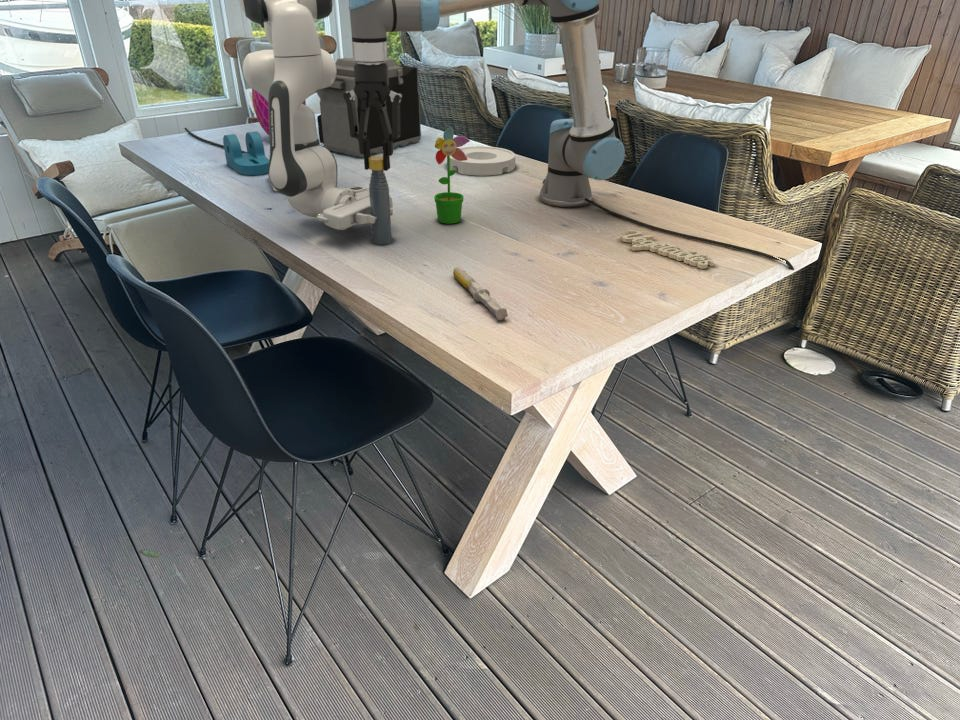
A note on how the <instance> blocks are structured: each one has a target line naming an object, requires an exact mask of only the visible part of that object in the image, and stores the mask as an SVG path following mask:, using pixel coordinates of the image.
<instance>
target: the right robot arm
mask: <svg viewBox="0 0 960 720" xmlns="http://www.w3.org/2000/svg"><path fill="white" fill-rule="evenodd" d="M600 1H601V0H348V10H349V19H350V32H351V47H352V58H353V60H354V61H355V62H356V63H355V65H354V76H355V86H354V90H352V91H347V92H345V93H344V94H343V97H344V99H345V101H346V104H347V111H348V120H349V128H350V136H351V137H353V138H357V139H358V140H359V149H360V154H364V157H363V164H364V166H363V167H364V170H366V171H367V170H370V169H369V163H368V158H369V157H371V153H370V140H369V139H366V137H367V136H366V134H367V125H368V117H369V110H370V107H371V106H373V107H376V108H377V111H378V113H379V117H380V121H381V125H382V129H383V133H384V137H385V141H383V142H382V147H383V150H382V156H383V164H384V172H387V171H389V170H390V169H391V156H392V155H393V154H394V149H393V140H396V139H398V138H399V137H400V103H401V100H402V97H403V96H402V94H401V93H399V94H397V93H395V92H393V91H391V88H390V86H389V76H388V65H387V63H385V61H387V59H388V41H387V33H394V32H395V33H398V32H399V33H406V32H407V33H408V32H409V33H411V32H414V33H415V32H422V33H425V32H430V31H431V32H432V31H435V30H437V29H438V27H439V24H440V20H441V18H444V17H449V16H454V15H455V16H456V15H460V14H465V13H469V12H474V11H481V10H485V9H489V8H495V7H500V6H505V5H509V4H513V5H514V6H515V7H523V6H527V5H531V6H532V5H534V6H544V7H548V9H549V10H548V11H549V17H550V21H551V24H553V25H554V26H555V27H557V28H558V31H559V38H560V45H561V50H562V57H563V58H562V59H563V63H564V64H563V65H564V69H565V70H564V71H565V75H566V82H567V89H568V97H569V101H570V108H571V113H572V114H571V115H572V118H562V119H554V120H553V121H552V122H551V124H550V127H549V128H550V129H549V134H548V136H549V141H548V142H549V143H548V156H547V158H548V159H547V173H546V176H545V178H544V179H543V181H542V183H541V184H542V187H541V189H540V192H539V200H540V202H542V203H543V204H546V205H549V206H553V207H558V208H559V207H560V208H580V207H584V206H588V205H589V204H591V205H593V206H595V207H597V208H599V209H600V210H602V211H604V212H606V213H607V214H610V215H613V216H615V217H619V218H620V219H623V220H626V221H628V222H631V223H634V224H636V225H640V226H643V227H645V228H648V229H652V230H654V231H655V230H656V231H659V232H662V233H665V234H670V235H674V236H679V237H681V238H682V237H683V238H687V239H692V240H696V241H700V242H704V243H708V244H712V245H713V244H714V245H717V246H721V247H726V248H731V249H735V250H738V251H743V252H747V253H751V254H753V255H754V254H755V255H758V256H761V257H765V258H768V259H770V260H774V261H779V262H782V261H781V260H779V259H777V258H775V257H773V256H774V255H772V254H769V253H766V252H763V251H758V250H754V249H752V248H747V247H743V246H739V245H735V244H731V243H728V242H727V243H726V242H722V241H718V240H713V239H708V238H704V237H700V236H695V235H691V234H686V233H683V232H677V231H674V230H669V229H665V228H662V227H659V226H655V225H652V224H648V223H645V222H642V221H639V220H636V219H634V218H631V217H630V216H629V217H628V216H626V215H622V214H621V213H617V212H615V211H613V210H611V209H608V208H605V207H604V206H602V205H600V204H598V203H597V202H595V201H593V200H592V199H593V193H592V188H591V184H590V179H592V180H595V181H605V180H608V179H611V177H613V176H615V175H616V174H617V172H618V171H619V169H620V168H621V167H622V166H623V164H624V161H625V156H626V148H625V145H624V144H623V142H622V141H621V140H620V139H619V138H617V137H616V132H615V131H616V130H615V124H614V120H612V119H610V118H609V117H608V116H607V109H606V108H607V107H606V101H605V94H604V93H605V92H604V86H603V78H602V77H603V76H602V70H601V62H600V55H599V54H600V53H599V46H598V39H597V32H596V31H597V30H596V23H595V19H596V18H597V16H598V14H599V13H600V10H601V9H600ZM355 95H356V96H357V97H358V98H359V100H360V101H361V115H360V124H359V132H358V123H357V114H356V105H355V98H356V97H355ZM389 96H390V97H391V102H393V103H392V131H391V126H390V122H389V118H388V114H387V110H386V109H387V107H386V103H385V102H386V100H387V99H388V97H389ZM777 257H778V258H780V259H782V260H785V261H786V263H785V265H787V267H788V268H789V270H790V271H795V268H794V266H793V264H792V263H791V262H790V261H789V260H788V259H787V258H784V257H780V256H777Z"/></svg>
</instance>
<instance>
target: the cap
mask: <svg viewBox="0 0 960 720" xmlns="http://www.w3.org/2000/svg"><path fill="white" fill-rule="evenodd" d="M368 163H369V169H368V170H370V171H372V170H384V164H383V155H372V156H371V157H369V158H368Z"/></svg>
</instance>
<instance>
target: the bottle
mask: <svg viewBox="0 0 960 720" xmlns="http://www.w3.org/2000/svg"><path fill="white" fill-rule="evenodd" d="M368 190H369V198H370V212H371V214H373V215H376V216H377V222H375V223H373V224H372V223H370V224H371V236H372V244H374V245H379V246H384V245H385V246H386V245H390V244H391V243H392V242H393V237H392V220H391V219H392V218H391V216H390V199H389V195H390V187H389V183H388V180H387V177H386V173H385V171H384V170H371V173H370V177H369V184H368Z"/></svg>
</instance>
